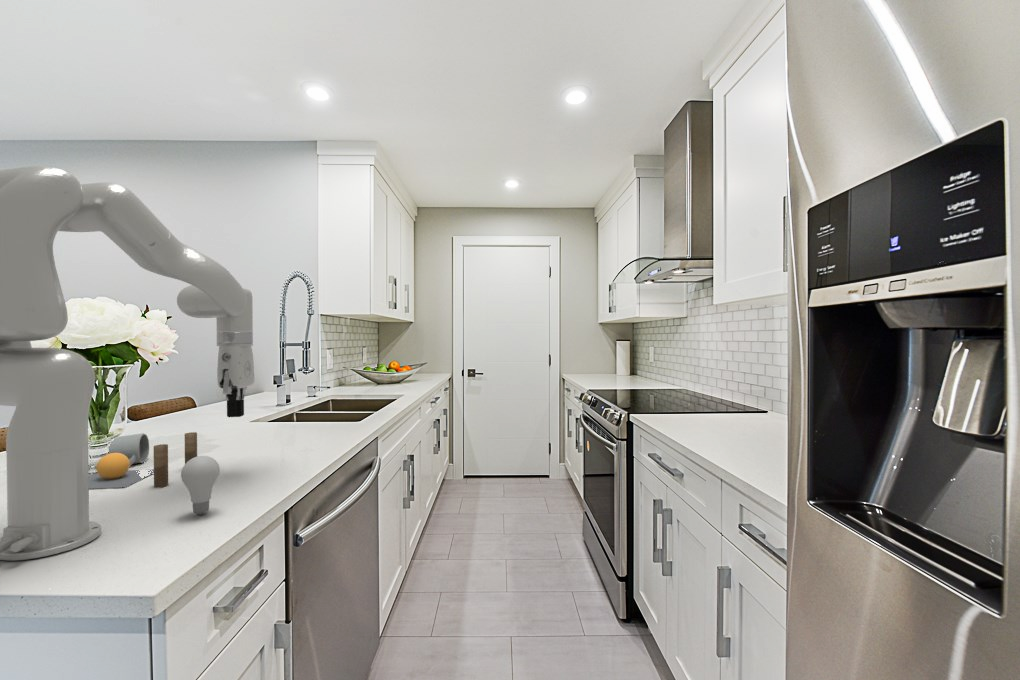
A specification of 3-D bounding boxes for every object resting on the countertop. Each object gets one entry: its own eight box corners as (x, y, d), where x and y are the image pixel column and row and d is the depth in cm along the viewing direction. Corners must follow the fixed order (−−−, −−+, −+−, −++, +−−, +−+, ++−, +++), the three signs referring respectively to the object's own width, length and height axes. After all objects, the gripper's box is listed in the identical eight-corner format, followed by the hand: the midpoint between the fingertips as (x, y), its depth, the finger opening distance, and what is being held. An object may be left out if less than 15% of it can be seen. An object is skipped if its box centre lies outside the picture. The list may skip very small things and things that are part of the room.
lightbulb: (227, 509, 93) (226, 452, 93) (204, 521, 87) (203, 460, 87) (198, 507, 94) (197, 451, 93) (173, 520, 88) (172, 460, 87)
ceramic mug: (113, 461, 127) (112, 432, 127) (150, 458, 130) (149, 430, 130) (95, 473, 117) (94, 442, 117) (135, 470, 120) (135, 439, 120)
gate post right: (194, 470, 119) (193, 434, 119) (182, 471, 119) (182, 434, 118) (199, 467, 121) (199, 432, 121) (188, 468, 121) (187, 432, 121)
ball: (85, 462, 109) (95, 486, 109) (111, 454, 109) (121, 478, 110) (105, 453, 115) (115, 476, 115) (130, 446, 115) (139, 469, 116)
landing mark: (125, 487, 106) (125, 487, 106) (53, 491, 103) (53, 490, 103) (161, 469, 119) (161, 469, 119) (98, 472, 117) (98, 471, 117)
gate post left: (164, 487, 106) (163, 446, 106) (151, 488, 106) (150, 447, 105) (170, 483, 108) (170, 444, 108) (158, 484, 108) (157, 444, 108)
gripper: (238, 340, 108) (239, 421, 108) (262, 339, 123) (263, 411, 123) (202, 340, 107) (203, 422, 107) (231, 339, 122) (232, 411, 122)
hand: (235, 416), depth 115 cm, fingers closed
